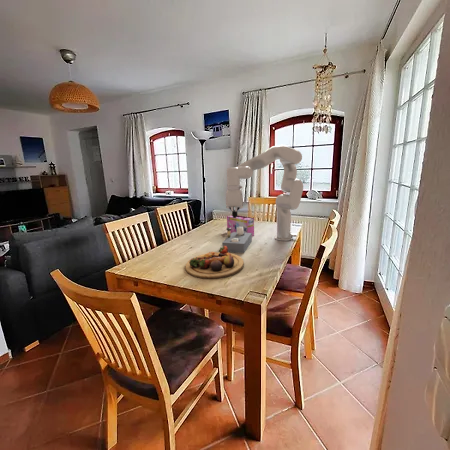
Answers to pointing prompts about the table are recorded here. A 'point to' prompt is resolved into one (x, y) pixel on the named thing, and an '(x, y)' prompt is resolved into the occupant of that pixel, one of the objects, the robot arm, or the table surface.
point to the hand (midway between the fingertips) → (234, 217)
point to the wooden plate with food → (214, 265)
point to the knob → (240, 231)
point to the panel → (238, 246)
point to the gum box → (241, 224)
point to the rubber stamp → (228, 232)
